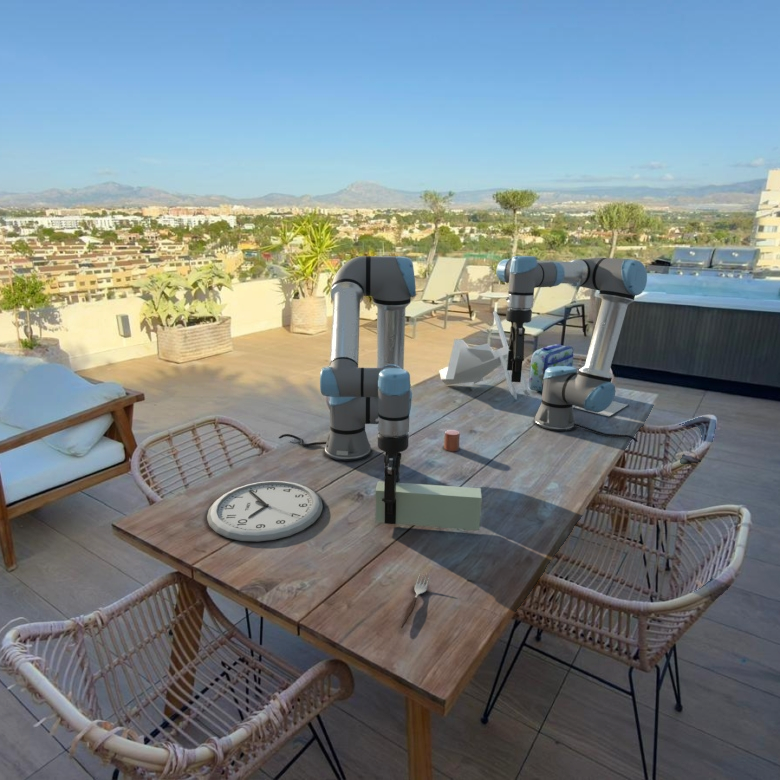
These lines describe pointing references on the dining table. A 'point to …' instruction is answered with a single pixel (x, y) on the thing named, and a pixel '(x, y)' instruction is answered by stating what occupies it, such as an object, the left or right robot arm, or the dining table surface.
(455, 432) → the orange cylinder puck
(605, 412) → the invitation card
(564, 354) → the lunch box
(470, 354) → the white plastic object
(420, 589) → the fork
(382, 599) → the dining table surface
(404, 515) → the beam
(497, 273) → the right robot arm
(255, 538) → the wall clock
